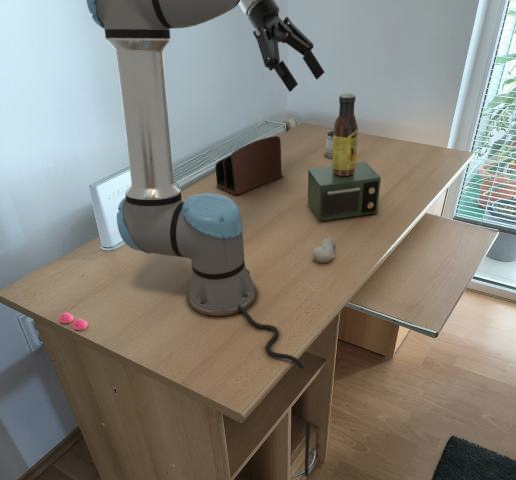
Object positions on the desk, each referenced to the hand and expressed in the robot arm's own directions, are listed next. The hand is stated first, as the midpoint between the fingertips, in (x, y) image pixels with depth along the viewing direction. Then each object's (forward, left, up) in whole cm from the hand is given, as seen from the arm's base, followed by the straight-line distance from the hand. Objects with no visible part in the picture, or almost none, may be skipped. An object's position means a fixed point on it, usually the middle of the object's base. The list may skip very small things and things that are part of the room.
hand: (307, 81), depth 130 cm
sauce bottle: (-6, -9, -23) cm, 25 cm away
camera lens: (+34, -20, -34) cm, 52 cm away
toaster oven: (-8, -9, -33) cm, 35 cm away
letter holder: (+21, +13, -34) cm, 42 cm away
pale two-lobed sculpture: (-30, +3, -34) cm, 46 cm away
